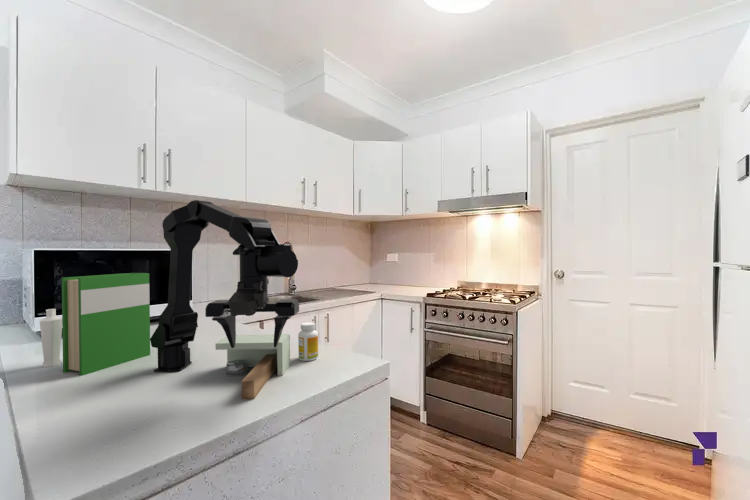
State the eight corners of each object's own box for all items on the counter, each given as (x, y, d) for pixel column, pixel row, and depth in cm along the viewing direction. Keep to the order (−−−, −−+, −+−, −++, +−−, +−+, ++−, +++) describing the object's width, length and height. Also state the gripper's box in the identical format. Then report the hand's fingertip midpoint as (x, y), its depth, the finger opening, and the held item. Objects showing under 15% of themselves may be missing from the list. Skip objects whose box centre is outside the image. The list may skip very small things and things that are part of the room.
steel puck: (223, 376, 84) (222, 366, 84) (231, 369, 89) (231, 359, 89) (243, 376, 84) (243, 365, 84) (250, 369, 89) (250, 359, 89)
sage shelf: (215, 376, 83) (215, 343, 83) (229, 365, 91) (228, 335, 91) (282, 375, 84) (282, 342, 84) (290, 364, 92) (289, 334, 92)
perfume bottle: (35, 366, 92) (34, 310, 92) (55, 361, 96) (55, 307, 96) (45, 368, 91) (44, 311, 91) (65, 363, 95) (64, 308, 95)
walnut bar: (241, 400, 71) (241, 381, 71) (266, 369, 89) (266, 354, 89) (254, 400, 71) (253, 380, 71) (276, 369, 89) (275, 354, 89)
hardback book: (81, 375, 85) (80, 278, 85) (63, 372, 88) (61, 277, 88) (150, 354, 102) (149, 273, 102) (132, 352, 104) (131, 272, 104)
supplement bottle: (320, 355, 99) (320, 321, 99) (315, 361, 94) (314, 325, 94) (302, 355, 100) (301, 321, 100) (295, 361, 94) (295, 325, 94)
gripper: (191, 279, 67) (192, 359, 67) (288, 278, 68) (288, 358, 68) (216, 275, 79) (217, 344, 79) (299, 274, 79) (299, 342, 79)
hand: (254, 347), depth 76 cm, fingers open, 9 cm apart
